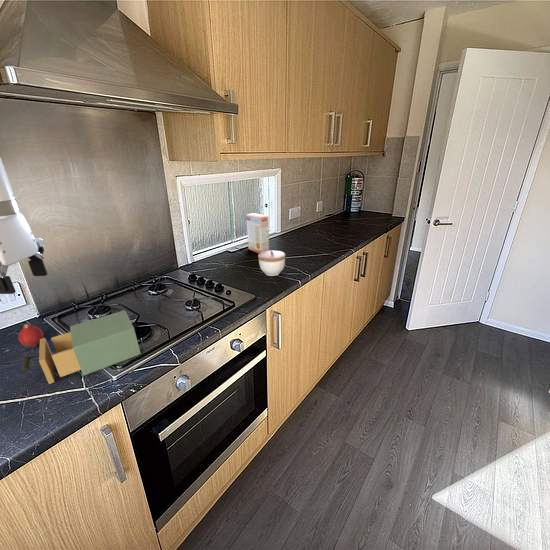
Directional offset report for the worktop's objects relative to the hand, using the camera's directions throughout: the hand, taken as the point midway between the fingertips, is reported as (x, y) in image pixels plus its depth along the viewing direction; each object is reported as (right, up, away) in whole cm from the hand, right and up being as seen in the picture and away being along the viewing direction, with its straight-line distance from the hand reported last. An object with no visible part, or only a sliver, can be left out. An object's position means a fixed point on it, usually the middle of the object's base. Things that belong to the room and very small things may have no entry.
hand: (25, 283), depth 68 cm
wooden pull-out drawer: (+1, -23, +13) cm, 26 cm away
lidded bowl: (+57, +3, +71) cm, 91 cm away
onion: (-16, -20, +23) cm, 34 cm away
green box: (+9, -21, +18) cm, 29 cm away
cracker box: (+49, +16, +101) cm, 113 cm away
